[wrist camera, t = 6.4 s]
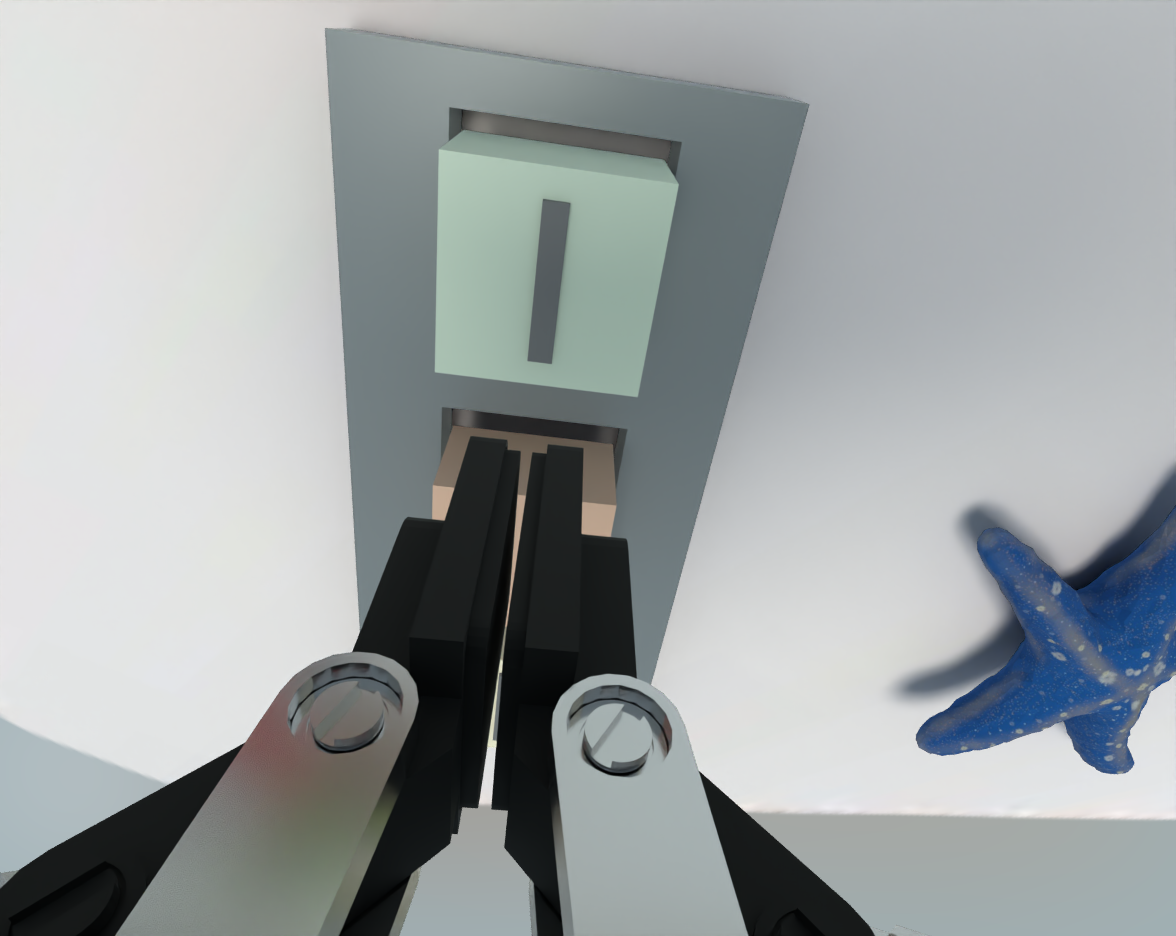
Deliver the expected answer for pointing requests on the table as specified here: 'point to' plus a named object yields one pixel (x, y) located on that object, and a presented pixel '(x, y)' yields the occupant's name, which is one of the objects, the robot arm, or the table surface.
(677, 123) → the board
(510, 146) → the tile one
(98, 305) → the table surface
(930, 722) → the starfish
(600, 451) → the tile two
